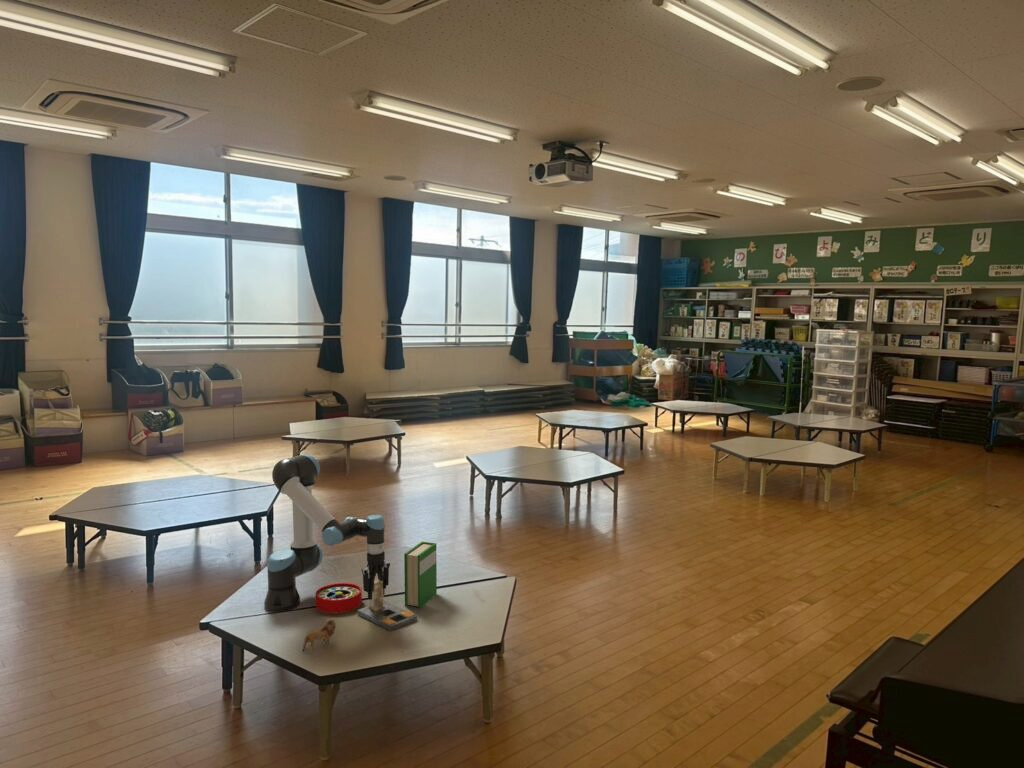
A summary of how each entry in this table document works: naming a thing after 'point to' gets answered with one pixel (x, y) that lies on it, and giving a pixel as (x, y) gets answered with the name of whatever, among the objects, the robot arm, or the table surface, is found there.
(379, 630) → the table surface
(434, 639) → the table surface
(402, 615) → the slotted board
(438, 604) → the table surface
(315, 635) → the lion figurine
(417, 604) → the hardback book
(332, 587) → the toy clock
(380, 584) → the peg
